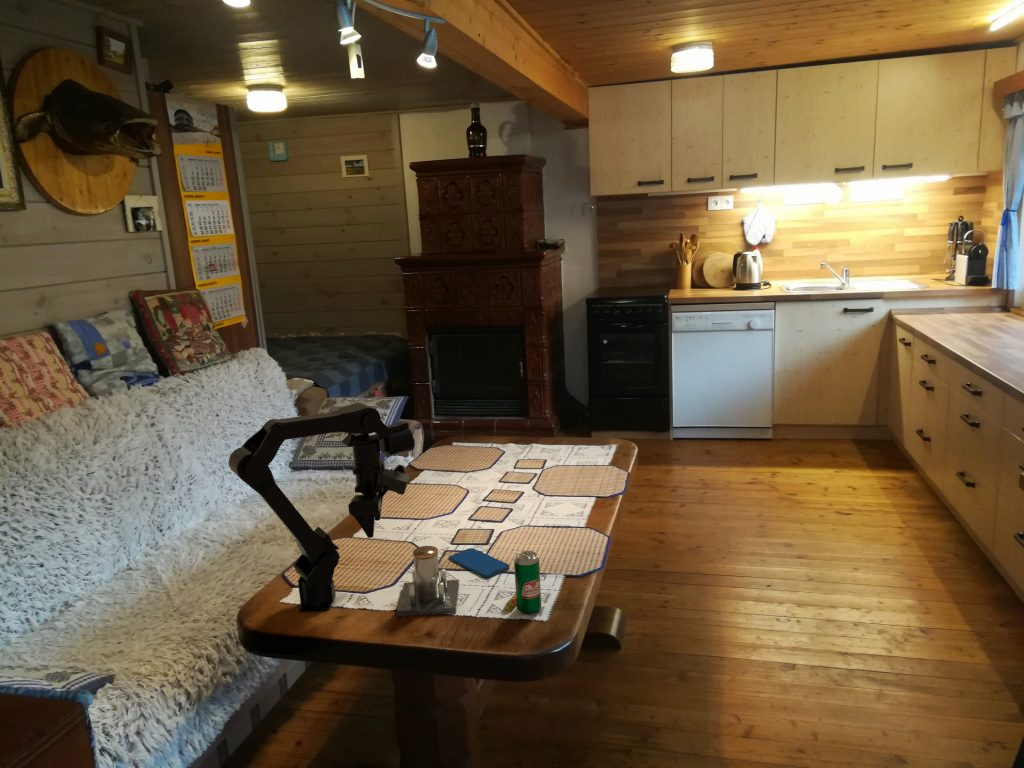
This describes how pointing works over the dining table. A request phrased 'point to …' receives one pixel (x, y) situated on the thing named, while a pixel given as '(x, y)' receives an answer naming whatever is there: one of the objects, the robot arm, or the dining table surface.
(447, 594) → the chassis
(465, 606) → the dining table surface
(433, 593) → the canister
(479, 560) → the smartphone
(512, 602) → the chocolate bar
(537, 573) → the soda can
